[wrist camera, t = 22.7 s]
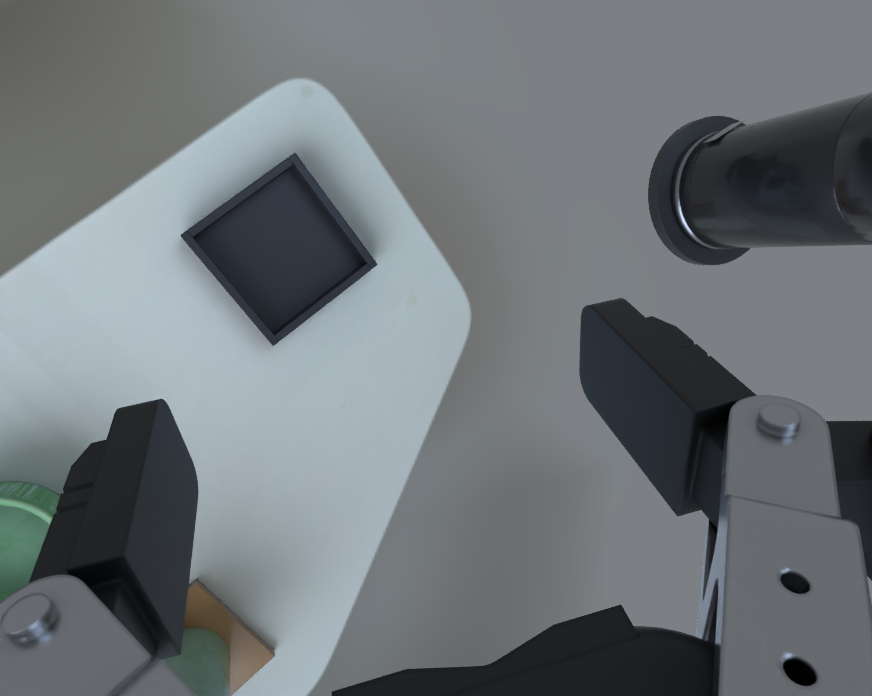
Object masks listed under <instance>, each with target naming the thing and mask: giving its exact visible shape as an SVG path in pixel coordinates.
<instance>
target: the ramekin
mask: <svg viewBox="0 0 872 696" xmlns="http://www.w3.org/2000/svg"><path fill="white" fill-rule="evenodd" d="M59 499H60V496H59V495H58V494H57V493H55V492H53V491H51V490H49V489H47V488H45V487H42V486H40V485H36V484H32V483H27V482H1V483H0V602H1V601H2V600H3V599H4V598H6V597H7V596H8V595H10V594H11V593H13V592H14V591H16V590H17V589H19V588H21V587H23V586H25V585H26V584H28V583H29V580H30V578H31V575H32V572H33V569H34V567H35V564H36V561H37V558H38V556H39V553H40V550H41V548H42V545H43V542H44V539H45V537H46V534H47V531H48V529H49V526H50V523H51V520H52V518H53V515H54V514H55V513H57V511H56V507H57V504H58V501H59Z"/></svg>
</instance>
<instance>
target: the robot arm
mask: <svg viewBox="0 0 872 696" xmlns="http://www.w3.org/2000/svg"><path fill="white" fill-rule="evenodd" d="M742 122H743V121H741V122H737V123H734V124H731V125H730V126H728V127H727V128H725V129H723V130H721V131H716V132H713V133H709V134H706V135H703V136H701V137H699V138H698V139H696V140H695V141H693V142H692V143H691V144H690V145H689V146H688V147H687V148H686V149H685V151H684V152H683V153H682V155H681V156H680V158H679V160H678V162H677V164H676V167H675V169H674V172H673V176H672V181H671V190H670V197H671V206H672V211H673V214H674V217H675V220H676V222H677V224H678V226H679V228H680V229H681V231H682V232H683V234H684V235H685V236H686V237H687V238H688V239H689V240H690V241H692V242H693V243H694V244H696V245H698V246H700V247H703V248H706V249H713V250H717V249H730V248H746V247H748V248H755V247H795V246H833V245H834V246H835V245H872V92H871V93H868V94H863V95H860V96H856V97H852V98H848V99H844V100H840V101H837V102H833V103H829V104H825V105H821V106H818V107H814V108H810V109H806V110H802V111H798V112H795V113H791V114H787V115H783V116H779V117H776V118H772V119H768V120H764V121H760V122H757V123H753V124H749V125H744V126H741V127H737V128H734V127H736V126H737V125H739V124H740V123H742ZM732 128H733V129H732ZM580 334H581V335H580V368H579V369H580V371H579V372H580V380H581V384H582V387H583V390H584V393H585V395H586V397H587V399H588V400H589V402H590V403H591V404H592V405H593V407H594V408H595V410H596V411H597V412H598V413H599V415H600V416H601V417H602V419H603V420H604V421H605V423H606V424H607V425H608V427H609V428H610V429H611V430H612V432H613V433H614V434H615V436H616V437H617V438H618V440H619V441H620V442H621V443H622V445H623V446H624V447H625V449H626V450H627V451H628V453H629V454H630V455H631V457H632V458H633V459H634V460H635V462H636V463H637V464H638V466H639V467H640V468H641V470H642V471H643V472H644V474H645V475H646V476H647V477H648V479H649V480H650V481H651V483H652V484H653V485H654V486H655V488H656V489H657V490H658V492H659V493H660V494H661V496H662V497H663V498H664V500H665V501H666V502H667V504H668V505H669V506H670V507H671V509H672V510H673V511H674V512H675V514H676V515H677V516H681V515H684V514H687V513H691V512H695V511H698V510H702V511H703V512H704V513H705V515H706V516H707V517H708V523H707V528H706V535H705V547H704V558H703V570H702V582H701V593H700V604H699V616H698V624H697V631H696V637H694V636H692V635H688V634H685V633H682V632H678V631H674V630H668V629H663V628H656V627H645V626H633V625H632V623H631V621H630V619H629V618H628V616H627V614H626V613H625V611H624V609H623V607H622V606H621V605H618V606H615V607H611V608H608V609H605V610H601V611H598V612H595V613H592V614H588V615H585V616H581V617H578V618H575V619H571V620H568V621H565V622H562V623H558V624H555V625H553V626H551V627H550V628H548V629H546V630H545V631H543V632H541V633H540V634H538V635H537V636H535V637H533V638H532V639H530V640H529V641H527V642H525V643H524V644H522V645H521V646H519V647H517V648H516V649H515V650H513V651H511V652H510V653H508V654H507V655H505V656H503V657H502V658H500V659H498V660H497V661H495V662H493V663H491V664H489V665H485V666H474V667H450V668H424V669H406V670H402V671H399V672H396V673H393V674H389V675H386V676H382V677H379V678H376V679H373V680H369V681H366V682H363V683H359V684H356V685H353V686H349V687H346V688H343V689H340V690H336V691H333V692H332V696H872V605H871V599H870V592H869V586H868V580H867V576H868V577H869V578H870V579H871V580H872V421H825V420H824V419H823V418H822V416H821V415H819V414H818V413H817V412H816V411H814V410H813V409H811V408H810V407H808V406H806V405H804V404H802V403H800V402H797V401H794V400H791V399H788V398H784V397H778V396H770V395H759V396H757V395H756V394H754V393H753V392H752V391H751V390H750V389H749V388H747V387H746V386H745V385H744V384H743V383H742V382H740V381H739V380H738V379H737V378H736V377H734V376H733V375H732V374H731V373H729V371H727V370H726V369H725V368H724V367H723V366H722V365H720V364H719V363H718V362H717V361H716V360H715V359H714V358H712V357H711V356H709V357H708V355H707V352H705V351H704V350H703V349H702V348H701V347H700V346H698V345H697V344H695V345H694V343H693V341H692V340H691V339H690V338H689V337H688V336H687V335H686V334H684V333H683V332H682V331H681V330H680V329H678V328H677V327H676V326H674V325H671V324H669V323H666V322H664V321H662V320H660V319H657V318H655V317H653V316H652V317H647V318H645V317H644V316H643V315H641V313H640V312H639V311H637V310H636V309H635V308H634V307H633V306H632V305H631V304H630V303H629V302H627V301H626V300H625V299H622V298H620V299H615V300H610V301H606V302H601V303H597V304H592V305H588V306H585V307H584V308H583V310H582V314H581V333H580ZM63 491H64V494H61V496H60V499H59V501H58V504H57V507H56V511H57V513H55V514H54V515H53V518H52V520H51V523H50V526H49V529H48V531H47V534H46V537H45V539H44V542H43V545H42V548H41V550H40V553H39V556H38V558H37V561H36V564H35V567H34V569H33V572H32V575H31V578H30V580H29V583H28V584H26V585H25V586H23V587H21V588H19V589H17V590H16V591H14V592H13V593H11V594H10V595H8V596H7V597H6V598H4V599H3V600H2V601H1V602H0V696H198V695H197V694H196V693H195V692H194V691H193V690H192V689H191V688H190V687H189V686H188V685H187V684H186V683H185V682H184V681H183V679H182V678H181V677H180V676H179V675H178V674H177V673H176V672H175V671H174V670H173V669H172V668H171V667H170V666H169V665H168V664H167V663H166V662H165V661H164V660H163V659H167V658H170V657H174V656H178V655H181V650H182V641H183V632H184V622H185V613H186V604H187V595H188V585H189V576H190V567H191V557H192V548H193V539H194V530H195V520H196V511H197V502H198V481H197V475H196V471H195V467H194V464H193V461H192V459H191V457H190V454H189V452H188V450H187V447H186V445H185V443H184V440H183V438H182V436H181V433H180V431H179V429H178V426H177V424H176V422H175V420H174V417H173V415H172V413H171V410H170V408H169V406H168V404H167V403H166V402H165V401H164V400H163V399H158V400H154V401H149V402H145V403H140V404H136V405H131V406H127V407H122V408H118V409H117V410H116V412H115V414H114V417H113V421H112V424H111V427H110V430H109V433H108V437H107V440H103V441H99V442H94V443H91V444H90V445H89V447H88V448H87V449H86V450H85V451H84V452H83V453H82V455H81V456H80V457H79V458H78V459H77V460H76V461H75V463H74V464H73V465H72V466H71V469H70V471H69V474H68V477H67V480H66V482H65V485H64V488H63Z"/></svg>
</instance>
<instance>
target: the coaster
mask: <svg viewBox="0 0 872 696" xmlns="http://www.w3.org/2000/svg"><path fill="white" fill-rule="evenodd" d="M187 628H204V629H208V630H210V631H213V632H215V633H216V634H218V635H219V636H220V637H221V638H222V639H223V640H224V641H225V643H226V644H227V646H228V649H229V653H230V696H231V695H232V694H233V693H234V692H236V691H237V690H238V689H239V688H240V687H241V686H242V685H243V684H244V683H245V682H247V681H248V680H249V679H250V678H251V677H252V676H253V675H254V674H255V673H256V672H258V671H259V670H260V669H261V668H262V667H263V666H264V665H265V664H266V663H267V662H269V661H270V660H271V659H272V658H273V657H274V656H275V653H274V650H272V649H271V648H270V647H269V646H268V645H267V644H266V643H265V642H264V641H263V640H262V639H261V638H259V637H258V636H257V635H256V634H255V633H254V632H253V631H252V630H251V629H250V628H249V627H248V626H246V625H245V624H244V623H243V622H242V621H241V620H240V619H239V618H238V617H237V616H236V615H235V614H233V613H232V612H231V611H230V610H229V609H228V608H227V607H226V606H225V605H224V604H223V603H222V602H220V601H219V600H218V599H217V598H216V597H215V596H214V595H213V594H212V593H211V592H210V591H209V590H208V589H206V588H205V587H204V586H203V585H202V584H201V583H200V582H199V581H198V580H196V581H194V582H193V583H192V584H191V585H190V586H189V587H188V595H187V604H186V613H185V622H184V629H187Z"/></svg>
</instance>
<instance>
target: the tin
mask: <svg viewBox="0 0 872 696" xmlns="http://www.w3.org/2000/svg"><path fill="white" fill-rule="evenodd" d="M163 660H164V661H165V662H166V663H167V664H168V665H169V666H170V667H171V668H172V669H173V670H174V671H175V672H176V673H177V674H178V675H179V676H180V677H181V678H182V679H183V681H184V682H185V683H186V684H187V685H188V686H189V687H190V688H191V689H192V690H193V691H194V692H195V693H196V694H197V695H198V696H230V653H229V649H228V646H227V644H226V643H225V641H224V640H223V639H222V638H221V637H220V636H219V635H218V634H216V633H215V632H213V631H210V630H208V629H204V628H187V629H184V632H183V641H182V650H181V655H178V656H174V657H170V658H167V659H163Z"/></svg>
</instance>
